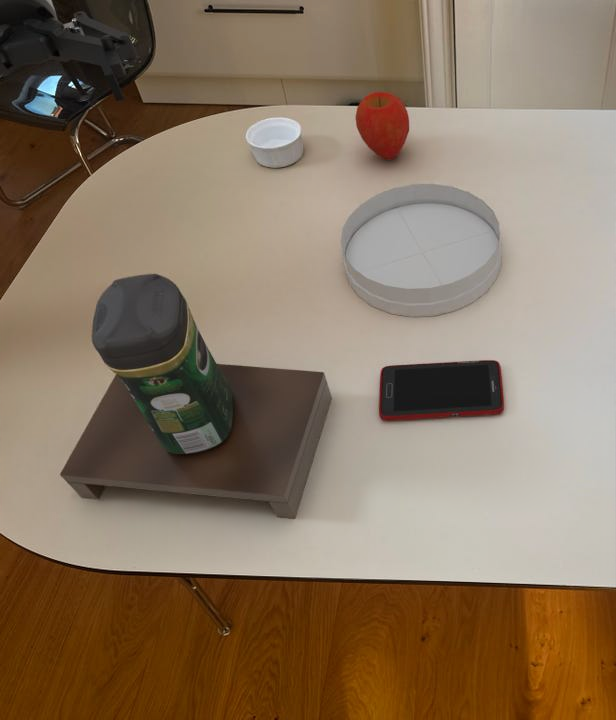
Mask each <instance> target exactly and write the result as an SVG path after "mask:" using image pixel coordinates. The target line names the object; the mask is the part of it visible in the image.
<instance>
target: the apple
mask: <svg viewBox="0 0 616 720" xmlns="http://www.w3.org/2000/svg"><path fill="white" fill-rule="evenodd" d="M355 112H356V113H355V125H356V126H355V127H356V128H357V130H358V133H359V136H360V137H361V140H362V141H363V142H364V144H365V145H366V146H367V147H368V149H370V150H371V151H372V152H373V153H374V154H375V155H377V156H378V157H379V158H381V159H382V160H385V161H387V160H394V159H396V158H397V156H398V155H399V153H400V152H401V151H402V149H403V147H404V146H405V143H406V141H407V138H408V135H409V132H410V117H409V113H408V110H407V107H406V106H405V103H404V102H403V101H402V100H401V98H400V97H398V96H397V95H396V94H393V93H390V92H383V91H377V92H372V93H369V94H368V95H366V96H364V98H362V100H361V101H360V102H359V104H358V106H357V108H356V111H355Z"/></svg>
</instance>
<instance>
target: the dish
mask: <svg viewBox="0 0 616 720" xmlns="http://www.w3.org/2000/svg"><path fill="white" fill-rule="evenodd" d="M500 229H501V228H500V222H499V220H498V218H497V216H496V214H495V211H494V210H493V209H492V208H491V207H490V205H488V204H487V203H486V202H485V200H483V199H482V198H480V197H478V196H476V195H475V194H473V193H472V192H470V191H468V190H464V189H461V188H458V187H455V186H452V185H444V184H437V183H418V184H417V183H415V184H414V183H413V184H408V185H403V186H398V187H393V188H390V189H388V190H386V191H383V192H380V193H377V194H376V195H374V196H372V197H370V198H369V199H367V200H365V201H364V202H362V203H361V204H360V205H358V207H357V208H355V210H354V211H352V213H350V214H349V216H348V218H347V220H346V221H345V224H344V225H343V227H342V230H341V238H340V245H341V249H342V253H343V254H342V261H343V262H342V263H343V265H344V269H345V272H346V276H347V280H348V284H349V285H350V287H351V288H352V290H353V291H354V292H355V294H356V295H357V296H358V297H359V298H360V299H362V300H363V301H364V302H366V303H367V304H368V305H370V306H371V307H373V308H375V309H378V310H380V311H383V312H386V313H388V314H391V315H397V316H404V317H410V318H414V317H417V318H418V317H419V318H420V317H436V316H440V315H444V314H449V313H453V312H455V311H457V310H460V309H463V308H464V307H466V306H468V305H471V304H473V303H474V302H476V301H477V300H478V299H479V298H481V297H482V296H484V295H485V294H487V292H488V291H489V290H490V288H491V287H492V286H493V284H494V283H495V282H496V280H497V279H498V276H499V273H500V270H501V267H502V254H503V253H502V252H503V251H502V238H501V231H500Z"/></svg>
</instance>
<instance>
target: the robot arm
mask: <svg viewBox="0 0 616 720" xmlns="http://www.w3.org/2000/svg"><path fill="white" fill-rule="evenodd" d="M138 59H139V56H138V53H137V50H136V49H135V46H134V43H133V41H132V39H131V36H130V34H128V33H126V32H123V31H121V30H119V29H116V28H114V27H111V26H109V25H107V24H105V23H102V22H100V21H97V20H95V19H92V18H90V17H89V16H88V15H87V13H86V12H85V11H76V12H75V13H73V18H72V19H71V21H70V22H67V23H62V22H61V21H60V20H59V19H58V16H57V13H56V9H55V7H54V4H53V1H52V0H0V76H1V77H8V76H10V75H11V73H13V72H14V71H15V70H17V69H18V68H22V67H24V66H26V65H38V64H43V63H45V62H47V61H51V60H54V61H59V62H64V63H67V62H69V61H70V60H72V61H77V62H82V63H87V64H91V65H97V66H100V67H101V69H102V73H103V74H104V77H105V79H106V82H107V83H108V85H109V88H110V91H111V93H112V95H113V97H114V99H115V101H116V102H119V101H123V100H125V97H124V95H123V93H122V90H121V87H120V85H119V83H118V81H117V79H119V78H123V77H126V75H127V72H126V69H125V67H124V65H123V62H124V61H127V62H135V61H137V60H138Z"/></svg>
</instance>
